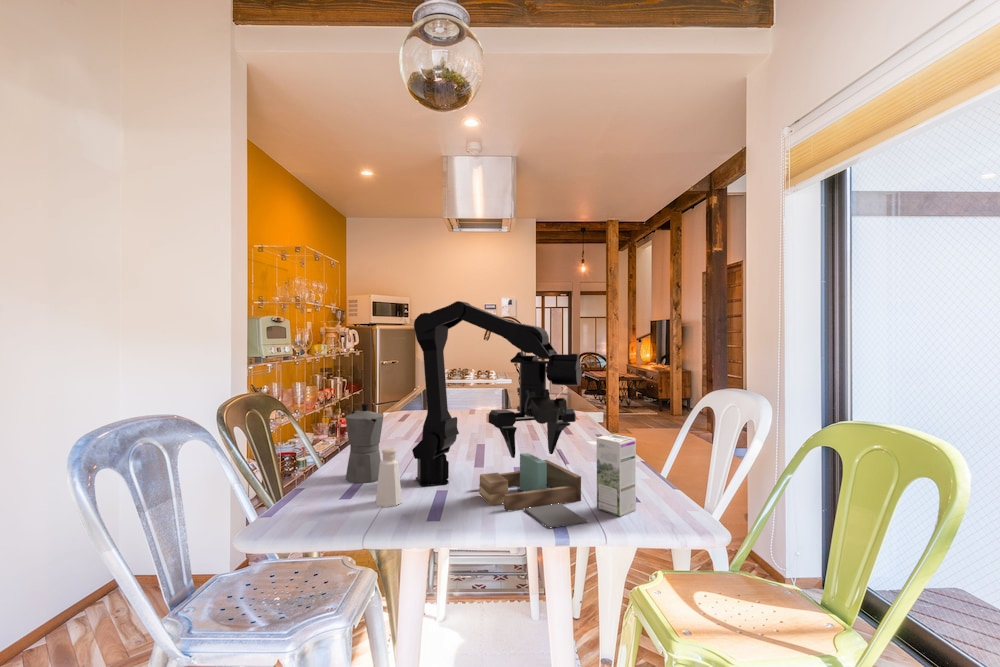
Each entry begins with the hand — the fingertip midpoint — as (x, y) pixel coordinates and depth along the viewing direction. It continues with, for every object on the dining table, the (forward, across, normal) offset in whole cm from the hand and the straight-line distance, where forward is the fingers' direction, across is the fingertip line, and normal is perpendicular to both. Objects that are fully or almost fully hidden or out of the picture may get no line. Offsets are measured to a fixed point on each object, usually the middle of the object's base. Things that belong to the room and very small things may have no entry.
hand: (532, 455), depth 109 cm
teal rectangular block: (+8, 0, 0) cm, 8 cm away
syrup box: (+8, +11, -15) cm, 21 cm away
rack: (+8, -1, 0) cm, 8 cm away
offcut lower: (+9, -9, 0) cm, 13 cm away
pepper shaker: (+9, -30, +6) cm, 32 cm away
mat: (+8, -2, -14) cm, 16 cm away
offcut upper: (+6, -9, 0) cm, 11 cm away
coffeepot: (+9, -32, +27) cm, 43 cm away
